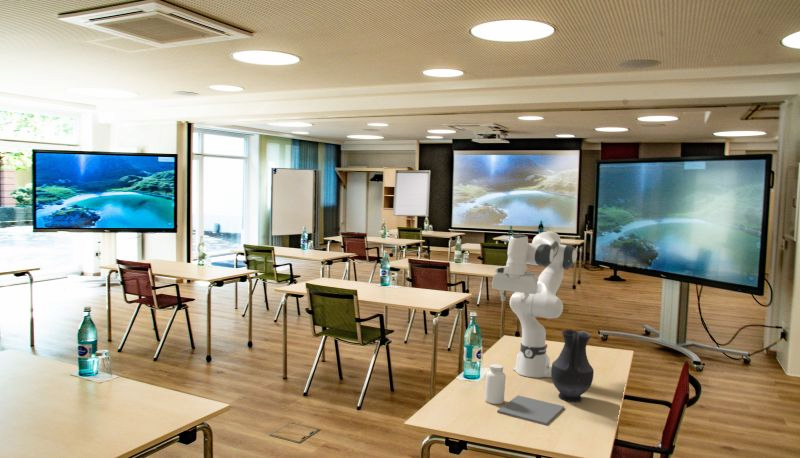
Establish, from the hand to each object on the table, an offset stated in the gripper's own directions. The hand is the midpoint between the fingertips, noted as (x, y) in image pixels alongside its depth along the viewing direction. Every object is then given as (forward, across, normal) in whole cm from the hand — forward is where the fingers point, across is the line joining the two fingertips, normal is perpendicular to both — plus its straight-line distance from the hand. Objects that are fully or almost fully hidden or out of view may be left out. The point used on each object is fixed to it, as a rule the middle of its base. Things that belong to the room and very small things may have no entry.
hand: (513, 302), depth 263 cm
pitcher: (+38, -27, -6) cm, 47 cm away
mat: (+41, -18, +16) cm, 47 cm away
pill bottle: (+41, -2, +16) cm, 44 cm away
